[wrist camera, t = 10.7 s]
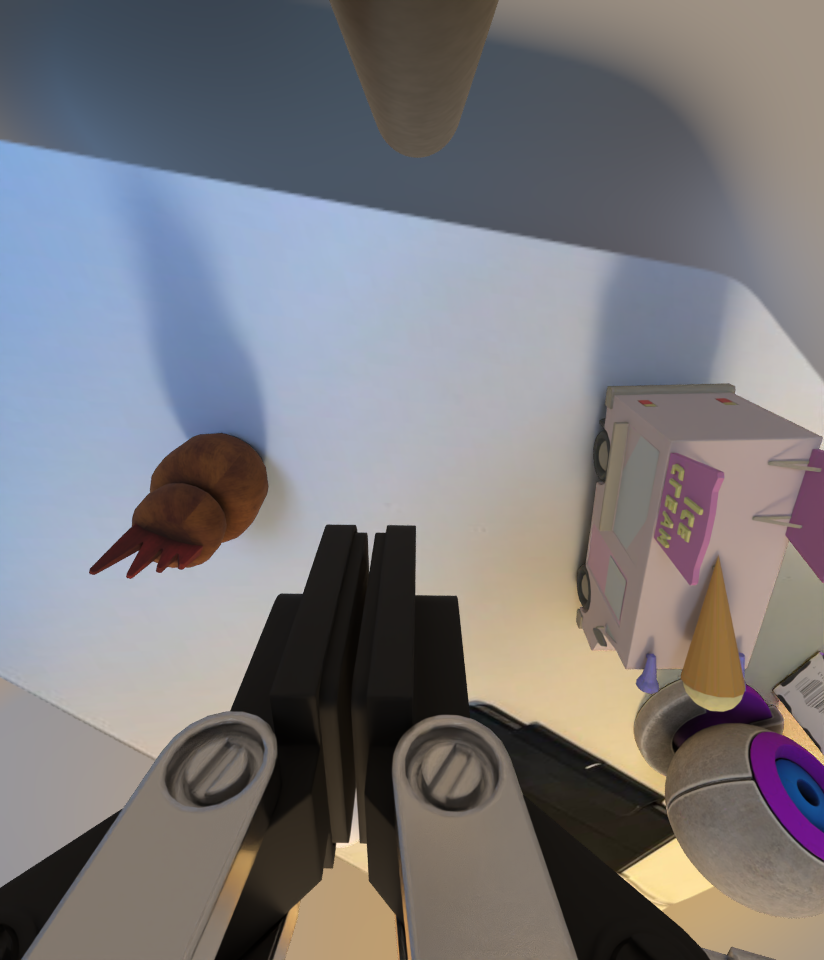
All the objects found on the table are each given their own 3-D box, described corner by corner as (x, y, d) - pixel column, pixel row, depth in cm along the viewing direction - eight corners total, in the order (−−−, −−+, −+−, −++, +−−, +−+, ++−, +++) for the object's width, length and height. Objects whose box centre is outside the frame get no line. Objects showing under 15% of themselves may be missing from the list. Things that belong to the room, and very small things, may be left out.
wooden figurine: (174, 460, 38) (38, 580, 25) (217, 405, 36) (96, 503, 23) (248, 514, 40) (160, 654, 27) (293, 465, 38) (222, 589, 25)
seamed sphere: (302, 780, 54) (285, 856, 47) (320, 733, 50) (305, 808, 44) (393, 801, 55) (390, 879, 48) (416, 757, 52) (415, 833, 45)
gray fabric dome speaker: (802, 699, 48) (955, 882, 34) (716, 782, 53) (819, 970, 39) (684, 656, 46) (796, 832, 32) (607, 746, 51) (675, 932, 37)
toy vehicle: (561, 606, 44) (624, 773, 30) (587, 379, 35) (691, 465, 22) (671, 605, 43) (785, 772, 30) (724, 375, 35) (916, 461, 21)
